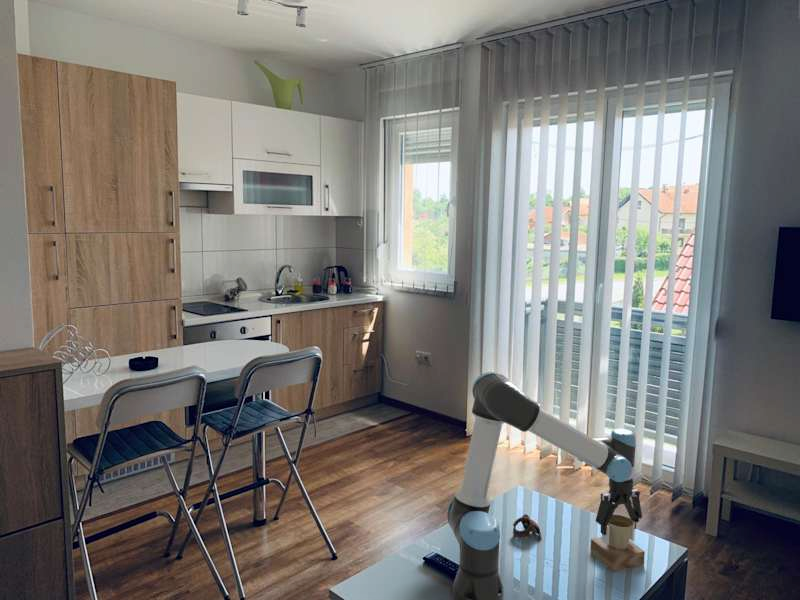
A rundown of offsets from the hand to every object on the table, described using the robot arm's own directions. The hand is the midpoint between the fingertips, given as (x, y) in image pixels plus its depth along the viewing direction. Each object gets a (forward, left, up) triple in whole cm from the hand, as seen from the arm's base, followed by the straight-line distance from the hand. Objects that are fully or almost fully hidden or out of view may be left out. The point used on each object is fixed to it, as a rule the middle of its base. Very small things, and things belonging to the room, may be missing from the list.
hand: (617, 540), depth 198 cm
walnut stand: (0, 0, -7) cm, 7 cm away
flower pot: (0, 0, -2) cm, 2 cm away
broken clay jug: (-21, +22, -7) cm, 31 cm away
